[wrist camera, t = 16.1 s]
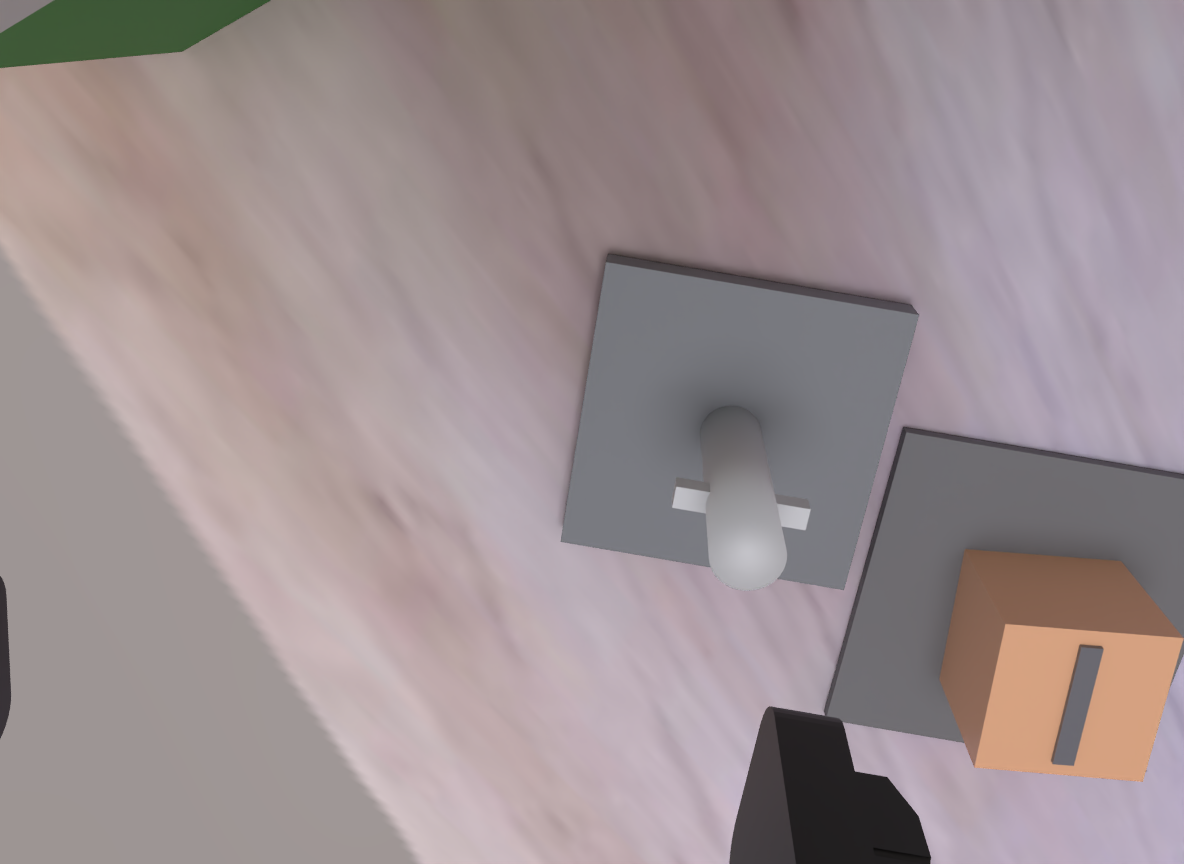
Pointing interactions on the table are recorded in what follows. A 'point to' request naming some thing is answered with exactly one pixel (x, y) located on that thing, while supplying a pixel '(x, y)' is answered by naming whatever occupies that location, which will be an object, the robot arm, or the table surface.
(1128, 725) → the tan cube
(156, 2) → the hardback book
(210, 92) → the table surface
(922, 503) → the rubber mat
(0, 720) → the robot arm
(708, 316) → the grey peg stand
